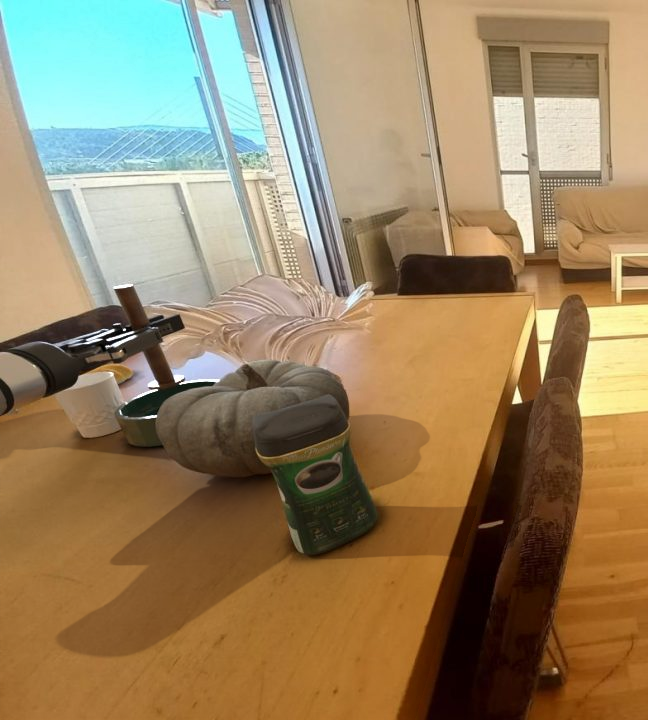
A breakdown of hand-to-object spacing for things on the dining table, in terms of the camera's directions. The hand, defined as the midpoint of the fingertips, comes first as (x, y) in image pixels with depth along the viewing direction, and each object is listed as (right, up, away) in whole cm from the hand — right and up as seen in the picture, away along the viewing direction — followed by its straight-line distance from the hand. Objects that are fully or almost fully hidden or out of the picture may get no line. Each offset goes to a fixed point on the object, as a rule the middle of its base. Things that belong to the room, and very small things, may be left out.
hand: (171, 321), depth 87 cm
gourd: (+24, -23, -7) cm, 34 cm away
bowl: (0, -19, +2) cm, 20 cm away
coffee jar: (+45, -30, -24) cm, 59 cm away
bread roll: (-35, -13, +22) cm, 43 cm away
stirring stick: (0, -11, -1) cm, 11 cm away
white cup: (-14, -20, +2) cm, 25 cm away
